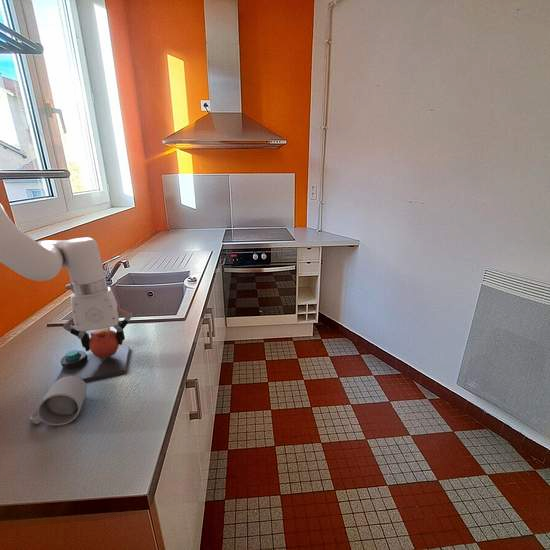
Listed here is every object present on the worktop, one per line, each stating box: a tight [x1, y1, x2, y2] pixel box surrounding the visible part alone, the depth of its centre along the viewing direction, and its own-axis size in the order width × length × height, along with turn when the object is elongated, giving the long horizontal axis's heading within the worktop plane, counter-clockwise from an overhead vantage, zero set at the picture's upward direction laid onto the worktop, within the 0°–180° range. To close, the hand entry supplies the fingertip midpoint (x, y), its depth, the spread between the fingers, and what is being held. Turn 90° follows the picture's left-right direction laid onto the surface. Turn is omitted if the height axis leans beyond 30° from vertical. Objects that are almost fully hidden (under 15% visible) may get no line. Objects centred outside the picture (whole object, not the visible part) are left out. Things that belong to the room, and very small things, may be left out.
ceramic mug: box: [29, 376, 88, 426], centre depth 66 cm, size 11×8×8 cm
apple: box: [89, 329, 120, 358], centre depth 83 cm, size 7×7×8 cm
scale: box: [55, 346, 131, 384], centre depth 82 cm, size 16×12×3 cm
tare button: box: [65, 349, 80, 361], centre depth 82 cm, size 3×3×2 cm
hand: (105, 345), depth 83 cm, fingers closed on apple, 7 cm apart
